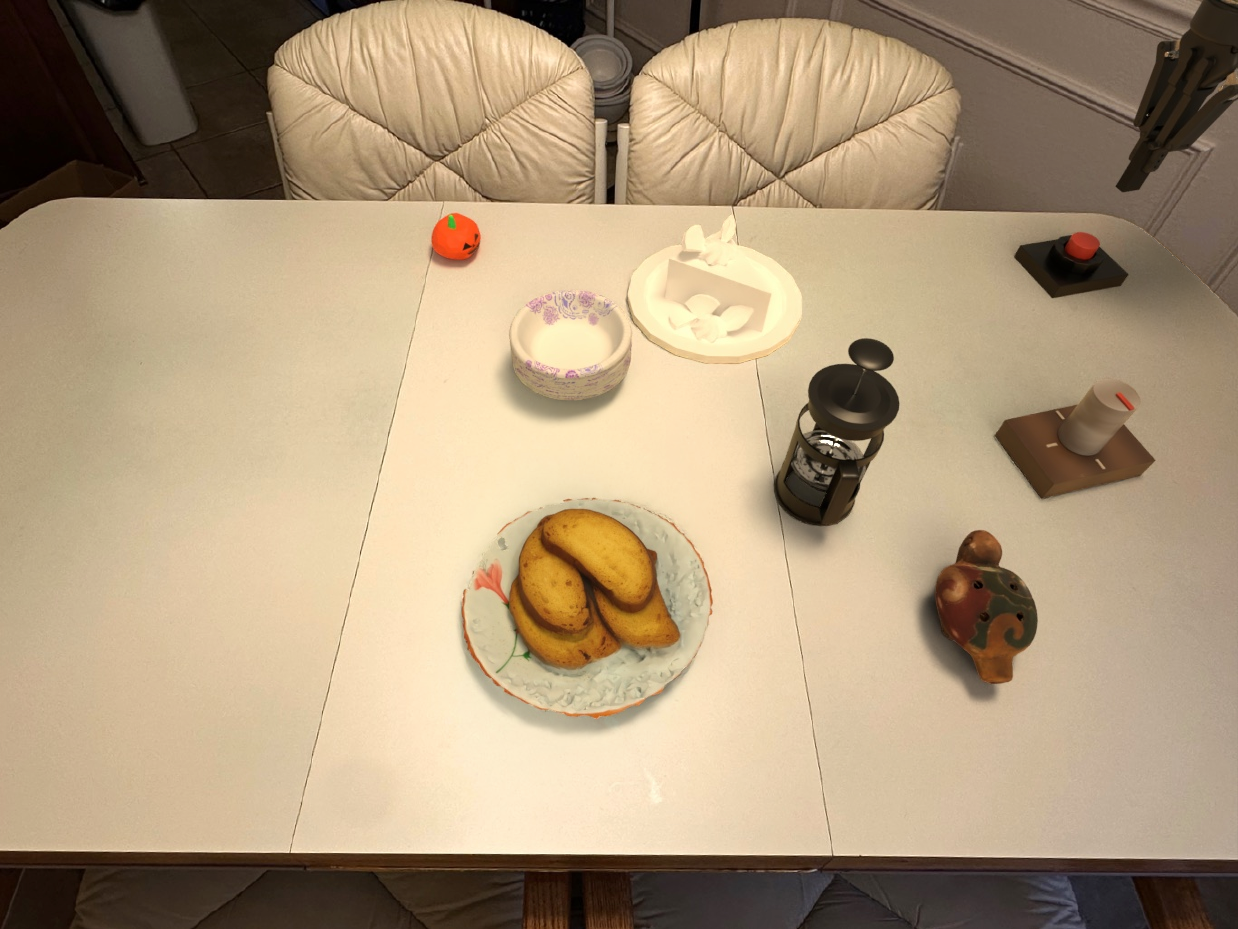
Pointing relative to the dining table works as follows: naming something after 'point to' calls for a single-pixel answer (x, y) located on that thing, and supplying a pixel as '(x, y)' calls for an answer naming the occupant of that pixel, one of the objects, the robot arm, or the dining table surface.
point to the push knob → (1082, 245)
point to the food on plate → (587, 607)
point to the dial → (1098, 416)
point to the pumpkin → (455, 236)
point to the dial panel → (1068, 454)
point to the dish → (714, 299)
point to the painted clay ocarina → (986, 607)
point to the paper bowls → (571, 344)
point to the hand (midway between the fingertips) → (1127, 187)
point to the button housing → (1068, 268)
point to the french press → (839, 433)
